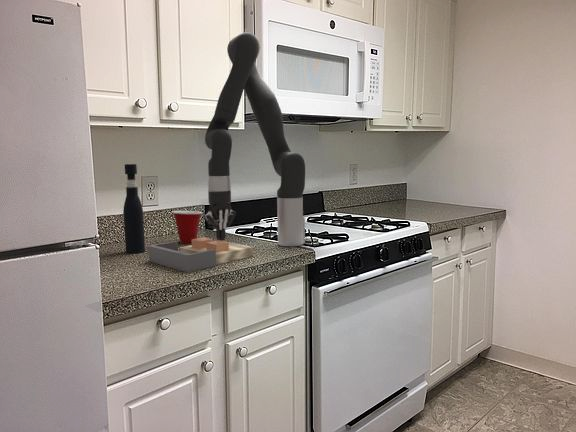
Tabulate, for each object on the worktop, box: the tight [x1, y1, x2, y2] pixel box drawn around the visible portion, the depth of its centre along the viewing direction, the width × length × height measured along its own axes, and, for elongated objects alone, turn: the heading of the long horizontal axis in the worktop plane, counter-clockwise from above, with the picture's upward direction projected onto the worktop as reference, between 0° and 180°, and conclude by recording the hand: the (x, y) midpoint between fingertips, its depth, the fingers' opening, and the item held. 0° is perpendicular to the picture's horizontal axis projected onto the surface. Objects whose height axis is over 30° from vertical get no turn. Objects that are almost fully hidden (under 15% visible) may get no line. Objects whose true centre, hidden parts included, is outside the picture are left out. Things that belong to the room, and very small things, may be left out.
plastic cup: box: [172, 210, 203, 245], centre depth 183 cm, size 11×11×12 cm
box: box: [147, 240, 217, 273], centre depth 150 cm, size 10×21×5 cm, turn 46°
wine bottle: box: [123, 163, 146, 254], centre depth 166 cm, size 6×6×30 cm
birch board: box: [179, 239, 254, 265], centre depth 160 cm, size 16×18×3 cm
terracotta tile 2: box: [206, 239, 229, 253], centre depth 155 cm, size 5×5×2 cm
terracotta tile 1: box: [191, 237, 214, 249], centre depth 160 cm, size 5×5×2 cm
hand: (221, 240), depth 166 cm, fingers closed
